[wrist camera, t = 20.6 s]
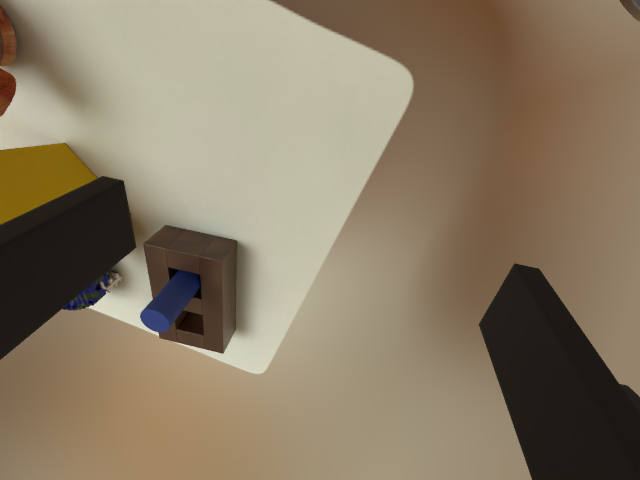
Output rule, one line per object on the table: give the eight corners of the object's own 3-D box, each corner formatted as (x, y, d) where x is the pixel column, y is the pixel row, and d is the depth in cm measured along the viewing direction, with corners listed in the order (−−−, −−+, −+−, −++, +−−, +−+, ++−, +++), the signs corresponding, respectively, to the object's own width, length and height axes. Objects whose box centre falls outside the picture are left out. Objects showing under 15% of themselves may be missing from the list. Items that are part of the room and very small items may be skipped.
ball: (113, 251, 49) (73, 282, 43) (125, 289, 54) (90, 323, 47) (66, 242, 50) (19, 272, 44) (80, 281, 54) (40, 313, 48)
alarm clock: (22, 162, 44) (-175, 227, 28) (53, 130, 41) (-151, 184, 25) (107, 246, 49) (-20, 339, 34) (140, 224, 46) (16, 316, 30)
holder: (236, 240, 45) (221, 261, 40) (235, 329, 54) (223, 353, 50) (165, 224, 45) (143, 243, 41) (176, 315, 55) (159, 338, 51)
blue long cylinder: (214, 255, 47) (167, 313, 37) (215, 274, 49) (171, 335, 38) (190, 249, 47) (137, 306, 37) (192, 269, 49) (142, 328, 39)
